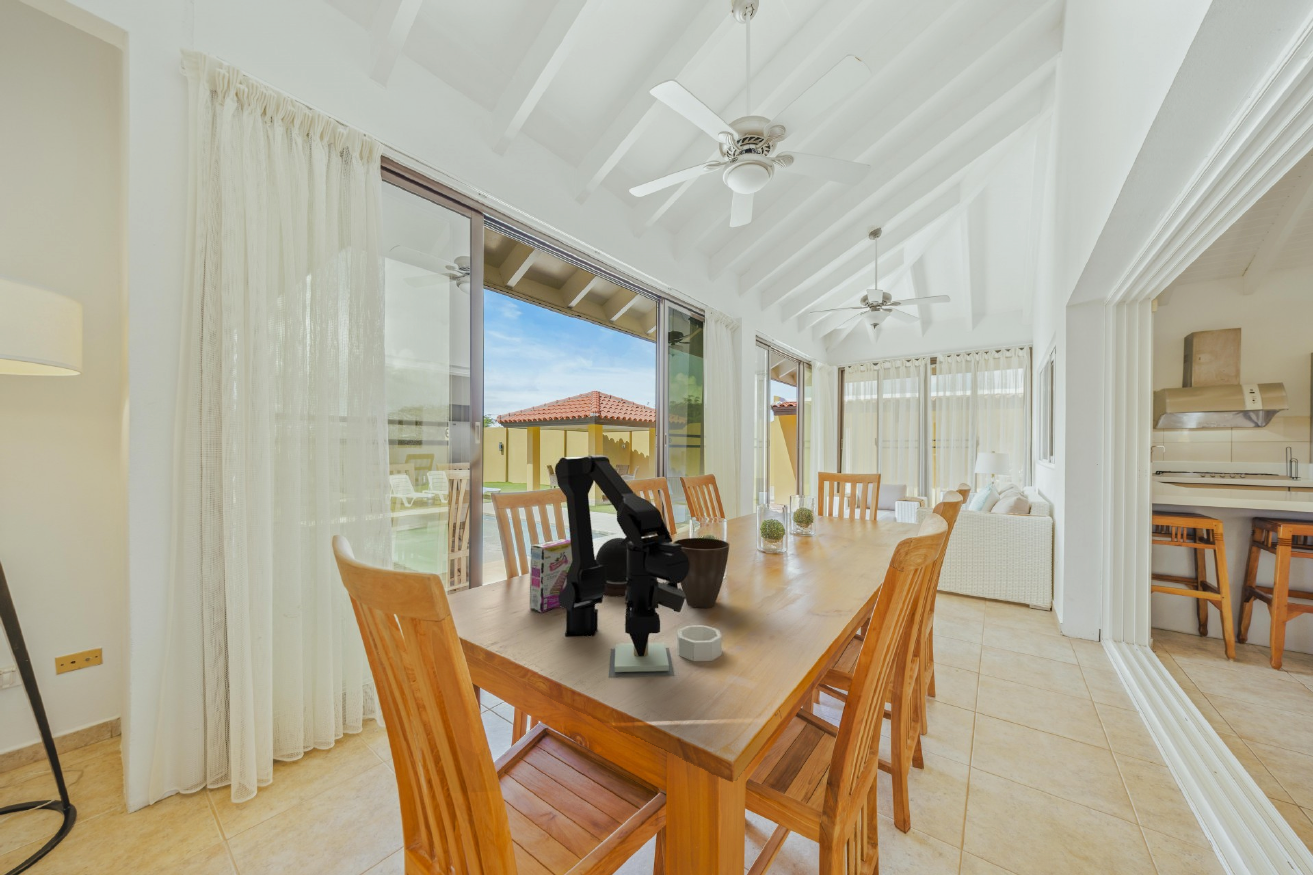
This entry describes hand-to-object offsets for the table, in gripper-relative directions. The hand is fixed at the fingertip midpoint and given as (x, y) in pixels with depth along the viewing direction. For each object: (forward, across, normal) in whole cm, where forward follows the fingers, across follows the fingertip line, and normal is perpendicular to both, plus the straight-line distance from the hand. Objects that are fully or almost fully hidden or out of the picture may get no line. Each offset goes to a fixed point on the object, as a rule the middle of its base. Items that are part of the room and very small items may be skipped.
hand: (640, 652), depth 95 cm
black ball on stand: (+2, +46, +5) cm, 46 cm away
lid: (+1, 0, 0) cm, 1 cm away
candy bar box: (+2, +34, +22) cm, 41 cm away
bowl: (+2, +4, -12) cm, 13 cm away
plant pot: (+2, +34, -17) cm, 38 cm away
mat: (+2, 0, 0) cm, 2 cm away
